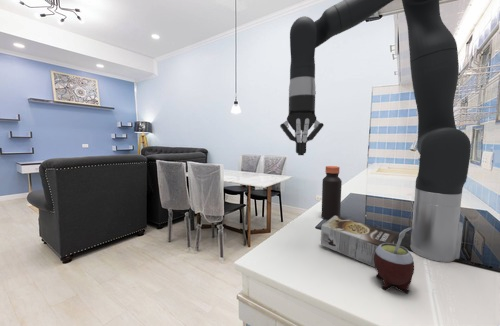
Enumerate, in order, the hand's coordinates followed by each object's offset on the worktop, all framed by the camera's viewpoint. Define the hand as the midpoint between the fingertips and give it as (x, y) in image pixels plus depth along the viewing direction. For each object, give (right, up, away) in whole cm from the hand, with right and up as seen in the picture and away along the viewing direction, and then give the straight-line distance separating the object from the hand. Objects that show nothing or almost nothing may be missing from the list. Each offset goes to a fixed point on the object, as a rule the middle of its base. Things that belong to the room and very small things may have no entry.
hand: (300, 155), depth 66 cm
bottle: (+16, -24, +19) cm, 34 cm away
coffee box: (+7, -22, -1) cm, 23 cm away
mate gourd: (+15, -28, -20) cm, 38 cm away
